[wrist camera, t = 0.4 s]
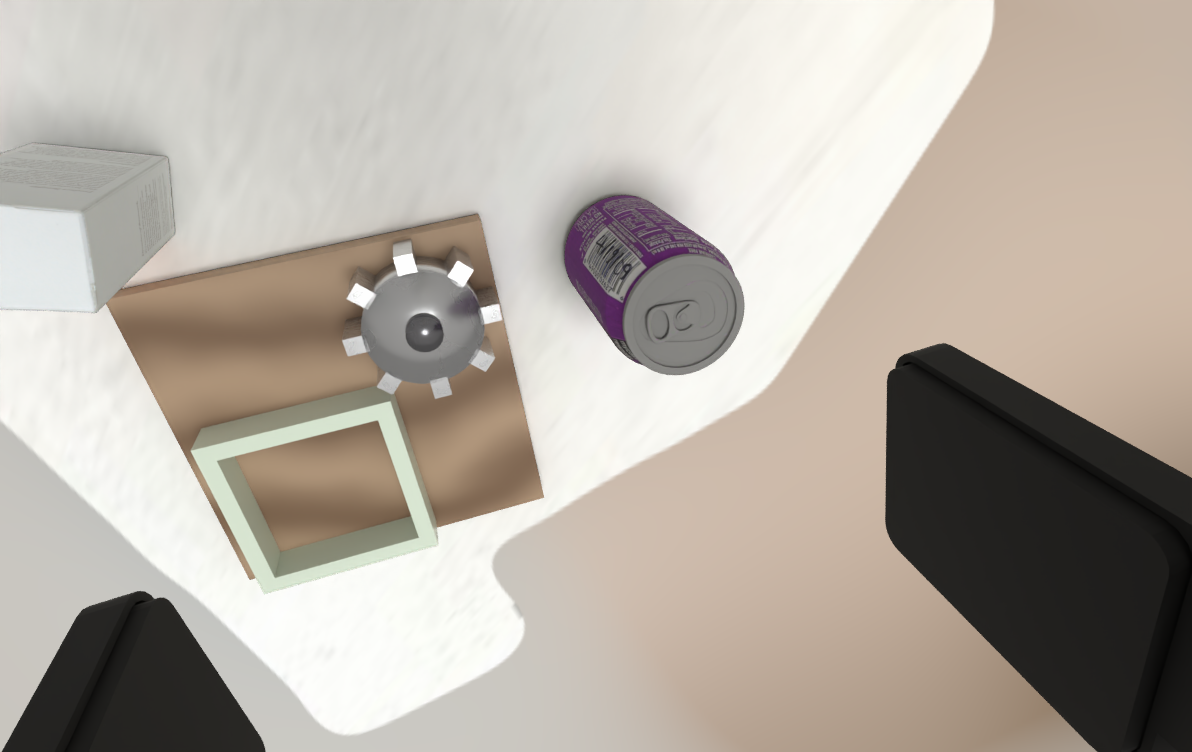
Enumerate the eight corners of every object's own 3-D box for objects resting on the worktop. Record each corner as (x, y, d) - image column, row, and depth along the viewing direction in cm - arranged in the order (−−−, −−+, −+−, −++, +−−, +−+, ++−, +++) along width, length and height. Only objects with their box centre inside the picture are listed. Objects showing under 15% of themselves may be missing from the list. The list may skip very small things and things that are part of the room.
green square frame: (201, 428, 41) (190, 450, 38) (390, 382, 42) (390, 401, 40) (270, 567, 46) (264, 594, 44) (436, 521, 48) (438, 544, 45)
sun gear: (323, 257, 38) (316, 278, 35) (477, 224, 40) (485, 241, 36) (370, 391, 42) (368, 422, 39) (508, 357, 44) (518, 384, 40)
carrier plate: (114, 290, 38) (104, 300, 36) (477, 213, 41) (480, 220, 39) (253, 564, 47) (249, 579, 46) (540, 485, 50) (544, 497, 49)
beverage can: (575, 315, 45) (629, 401, 35) (550, 209, 42) (601, 269, 31) (677, 285, 46) (759, 360, 36) (660, 179, 43) (746, 228, 32)
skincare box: (46, 227, 36) (-97, 308, 25) (31, 140, 34) (-129, 190, 24) (180, 237, 37) (98, 317, 27) (172, 155, 36) (81, 207, 25)
